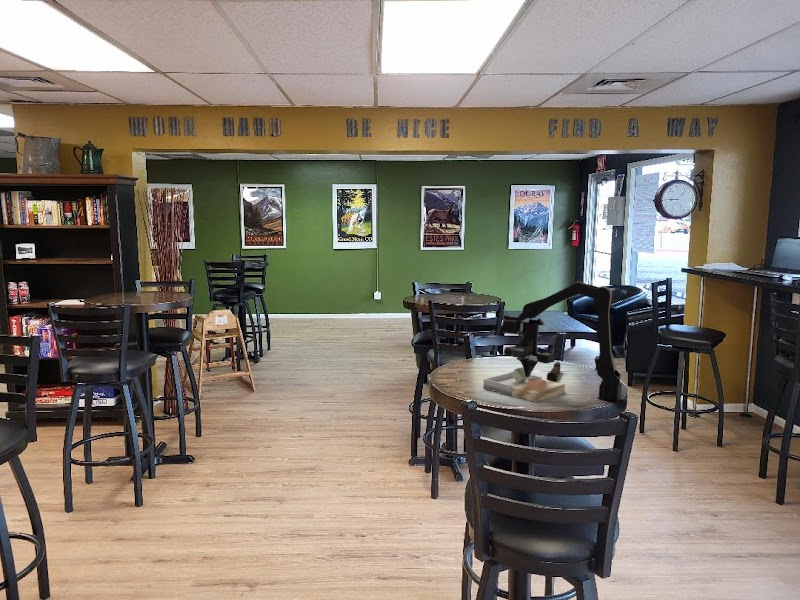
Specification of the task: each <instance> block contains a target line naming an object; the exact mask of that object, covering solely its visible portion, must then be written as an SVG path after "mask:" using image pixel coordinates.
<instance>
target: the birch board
mask: <svg viewBox="0 0 800 600" xmlns="http://www.w3.org/2000/svg"><path fill="white" fill-rule="evenodd" d="M541 380H545V381H546V388H545V389H544V390H540V391H536V390H532V389H528V388H527V386H528V383H525V384H521V385H518V386H515V387H512V397H515V398H520V399H523V400H527V401H531V402H534V403H537V402H541V401H543V400H546V399H549V398H552V397H554V396H555V397H556V396H558V395H561V394H564V393H565V391H566V390H565V389H566V384H564V383H561V382H557V381H555V382H553V381H548V380H547V379H543V378H542V379H541ZM540 400H541V401H540Z"/></svg>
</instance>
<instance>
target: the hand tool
mask: <svg viewBox="0 0 800 600" xmlns="http://www.w3.org/2000/svg"><path fill="white" fill-rule="evenodd" d="M560 373H561V362H560V361H557V362H554V364H553V367H552V368H551V370H550V371H549V372H547V374H546V380H548V381H555V382H557V379H558V377H559V376H560Z"/></svg>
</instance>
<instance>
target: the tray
mask: <svg viewBox="0 0 800 600" xmlns="http://www.w3.org/2000/svg"><path fill="white" fill-rule="evenodd" d="M512 372H513V371H510V372H507V373H502V374H497V375H494V376H490V377H486V378H484V379H483V386H482V388H483V389H484V388H487V389H486V390H488V389H490V390H489V391H491V390H494V391H493V392H495V391H497V392H496V393H499V392H500V393H499V394H502V393H503V394H504V395H506V394H507V396H509V397H511V395H512V387H515V386H518V385H521V384H525V383H528V380H530V379H533V378H537V379H543V378H542V376H538V375H533V374H530V377H529V378H528V379H527V380H526V381H525V382H521V383H517V381H516V380H515V379H514V378H513V376H512V375H511V373H512Z"/></svg>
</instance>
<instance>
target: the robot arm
mask: <svg viewBox="0 0 800 600" xmlns="http://www.w3.org/2000/svg"><path fill="white" fill-rule="evenodd" d="M576 294H579V295H581V296H585V297H587V298H589V299H592V300H593V302H594V307H595V310H596V314H597V324H598V325H597V327H598V330H597V331H598V342H599V343H598V348H599V354H598V355H596V356H595V357H594V364H595V368H594V371H596V373H597V376H599V378H601V379H602V380H600V384H599V385H598V387H599V389H598V396H597V399H598V400H602V401H607V402H611V403H613V404H614V403H615V404H616V403H618V402H620V401H623V400H624V399H623V397H622V388H623V383H622V382H621V378H622V374H621V373H620V372H619V371H618V370H617V369H616V368H617V367H616V363H615V359H614V356H613V352H612V340H611V323H610V322H611V321H610V310H611V305H612V304H611V303H612V296H613V293H612V290H611V288H609V287H608V286H605V285H601V286H596V285H592V284H588V283H584V282H583V281H579V280H578V281H576V282H574V283H572V284H571V285H569V286H567V287H565V288H562V289H561V290H559V291H557V292H555V293H553V294H551V295H548V296H547V297H544V298H541V299H537V300H534V301H530V302H528V303H526V304H524V305H523V307H522V312H521V313H520V314H519V315H518V316H515V315H509V314H506V315H504V316H503V320H502V324H501V333H502V334H508V335H509V334H510V335H519V333H522V334H521V336H522V337H520V338H519V341H518V343H517V344H516V345H511V346H505V348H504V351H503V355H505V356H509V357H510V356H512V357H513V358H516V360H517V361H519V362H520V364H521V366H522V368H523V369H524V372H525V376H526V377H529V376H530V375H532V373H533V371H534V369H535V367H536V366H537V364H538V363H541V364H551V363H556V362H555V361H556V357H555V355H554V353H550V352H542V353H541V352H540V349H539V348H538V343H539V342H540V343H541V341H540V340H541V339H540V338H539V328H540V327H539V326H544V325H545V324H546V323H545V322H544V321H543V319H542V318H541V317H540V318H538V319H535V318H537V317H538V316H540V314H542V313H544V312H545V311H546V310H547V309H549V308H551V307H552V306H554V305H557V304H558V303H559V304H560V303H561V302H563V301H565V300H567V299H569V298H571V297H573V296H575V295H576ZM527 319H528V320H527Z"/></svg>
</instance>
